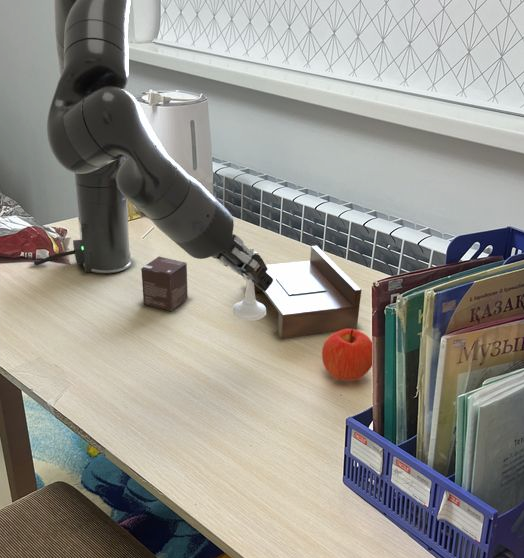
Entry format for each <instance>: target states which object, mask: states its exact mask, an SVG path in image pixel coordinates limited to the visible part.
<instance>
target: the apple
mask: <svg viewBox="0 0 524 558" xmlns="http://www.w3.org/2000/svg"><path fill="white" fill-rule="evenodd" d="M372 343H373V342H372V339H370V337H369V336H368V335H367V334H366V333H364V332H361V331H360V330H358V329H343V330H340V331H334V332H332V334H330V335H329V336H328V337H327V339H326V340H325V341H324V343H323V345H322V350H321V358H322V363H323V367H324V368H325V370H326V371H327V372H328V374H329V375H331V376H332V377H334V378H336V379H338V380H339V381H340V380H341V381H354V380H355V381H356V380H359V379H361V378H362V377H364V376H365V375H366V374H367V373H368V372H370V369H371V368H372V367H373V365H372Z"/></svg>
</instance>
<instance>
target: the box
mask: <svg viewBox="0 0 524 558" xmlns="http://www.w3.org/2000/svg"><path fill="white" fill-rule="evenodd" d="M187 267H188V264H187V262H185V261H181V260H176V259H172V258H167V257H163V256H158V257H156V258H155V259H153V260H152V261H150V262H148V263H147V264H145V265H144V266H143V267H141V268H140V271H141V283H142V284H141V285H142V297H143V305H146V306H149V307H150V306H151V307H154V308H158V309H163V310H166V311H170V312H172V311H173V310H175V309H176V308H177V307H178V306H180V305H181V304H182V303H184V302H185V301H186V300H188V297H189V295H188V269H187Z"/></svg>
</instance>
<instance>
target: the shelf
mask: <svg viewBox="0 0 524 558" xmlns="http://www.w3.org/2000/svg"><path fill="white" fill-rule="evenodd" d="M265 265H266V266H267V268H268V270H267V271H266V273H268V274H269V275H270V276H271V277H272V278H273V282H272V284H271V285H270V286H269V288H268V289H267V290H266V291H263V290H261V289H260V288H259V287H258V286H257V285H255V284H254V290H255V293H260V292H263V293H264V295H265V297H266V298H267V299H268V301H270V303H271V305H273V307H274V308H275V310H276V311H277V312H278V317H277V319H278V321H277V334H278V335H279V337H280V339H288V338H295V337H302V336H310V335H318V334H325V333H335V332H338V331H340V330H343V329H355V330H358V321H359V313H360V305H361V297H362V289H361V288H360V287H359V286H358V285H357V283H355V282H354V280H352V279H351V278H350V277H349V276H348V275H347V274H346V272H344V271H343V270H342V269H341V267H339V266H338V265H337V264H336V263H335V262H334V261H333V260H332V259H331V258H330V257H329V256H328V255H327V254H326V253H325V252H324V251H323V250H322V249H321V248H320V247H319V246H318V245H310V255H309V260H302V261H293V262H292V261H291V262H282V263H272V264H265ZM245 282H246V284H245V285H246V286H247V281H245ZM246 286H245V287H246Z"/></svg>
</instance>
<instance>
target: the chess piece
mask: <svg viewBox="0 0 524 558" xmlns="http://www.w3.org/2000/svg"><path fill="white" fill-rule="evenodd" d="M249 250H250V251H251V252H253V253H254V254H258V255H259V252H258V251H254V250H255V249H254V247H249ZM242 279H243V280H245V281H246V282H247V286H245V293H244V297H243V299H242V300H240V301H237V302H236V303H235V304H233V306H232V309H231V313H232V315H233V316H234V317H235V318H237V319H239V320H242V321H243V320H244V321H257V320H258V321H259V320H261V319H263V318H265V316H267V308H266V306H265V305H264V303H262V302H259V301H258V300H257V299H256V292H255V290H254V283H253V282H252V281H251V280H248V279H247V277H246V276H242Z"/></svg>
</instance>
